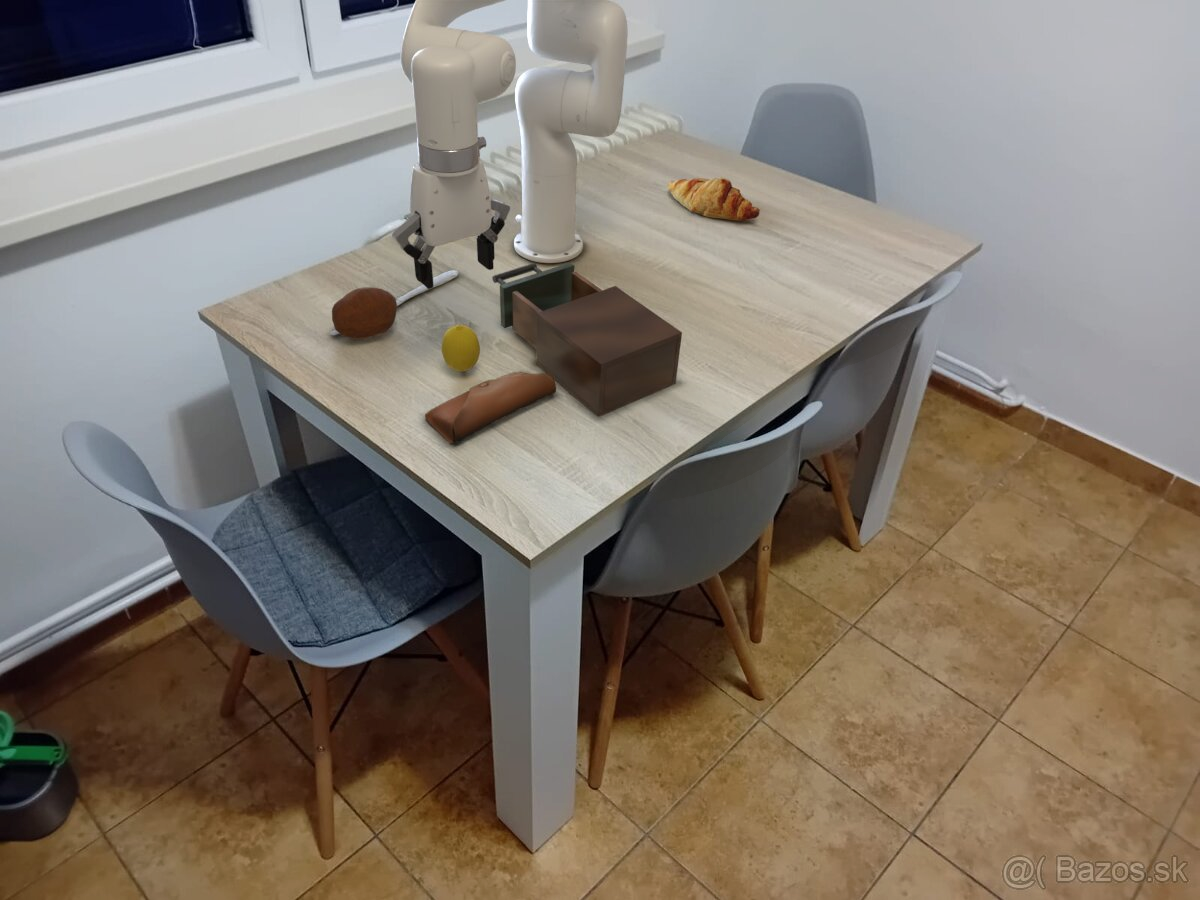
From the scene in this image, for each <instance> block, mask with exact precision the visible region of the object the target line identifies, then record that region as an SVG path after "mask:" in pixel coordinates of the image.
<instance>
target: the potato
mask: <svg viewBox="0 0 1200 900" xmlns="http://www.w3.org/2000/svg"><path fill="white" fill-rule="evenodd" d="M396 299H397V298H396V297H395V296H394V295H393V294H392V293H391V292H389V291H388V290H385V289H383V288H379V287H373V286H372V287H371V286H370V287H369V286H368V287H367V286H365V287H359V288H355V289H353V290H351V291H350V292H348V293H346V294H345V295H343V297H342V298H340V299H339V300H337V301H336V302H335V303H334V304H333V306H332V308H331V320H332V323H333V324H332V325H333V327H334V330H336V331H337V332H338V333H340V334H339V335H341V336H342V337H345V338H349V339H367V338H371V337H375V336H378V335H380V334H383V333H386V332H388V331H389V330H390V329H391V328H392V327H393V325H394V323H395V320H396V316H397V309H398V306H397V302H396Z"/></svg>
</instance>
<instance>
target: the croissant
mask: <svg viewBox="0 0 1200 900" xmlns="http://www.w3.org/2000/svg"><path fill="white" fill-rule="evenodd" d="M667 191H669V193H670V194H671V195H672V196H673V198H674V199H675V200H676V201H677V202H678V203H680V204H681V205H682V206H683V207H685V208H686V209H687V210H689V211H690V213H695V214H699V215H701V216H703V217H708V218H712V219H714V218H715V219H725V220H729V221H742V222H744V221H749V220H751V219H756V218H758V217H759V215H760V212H761V209H760V208H759V207H757V206H753V203H752V202H751V200H749V199H747V198H745V197H744V195H742V193H741V190H740V189H738V188H736V187H733V185H732V182H731V180H730V179H727V178H726V177H714V178H711V179H709V178H702V177H697V178H692V179H686V178H682V179H681V178H680V179H677V180H676V181H675V180H670V181H669V183H667Z"/></svg>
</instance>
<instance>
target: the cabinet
mask: <svg viewBox="0 0 1200 900" xmlns="http://www.w3.org/2000/svg"><path fill="white" fill-rule="evenodd" d="M601 290H602V291H599V292H596V293H593V294H591V295H588V296H585V297H582V298H579V299H576V300H573V301H571V302H568V303H565V304H562V305H559V306H556V307H553V308H550V309H548V310H545V311H542V312H539V313H537V349H536V365H537V366H538V367H539V368H540V369H541V370H543V371H544V373H545V374H548V375H550V376H551V377H552V378H553V379H554V381H555V382H556V383H558V384H559V385H560V386H561V387H562V388H563V389H565V390H566V391H567V392H568V393H569V394H571V395H572V396H573V397H574V398H575V399H576V400H578V401H579V402H580V403H581V404H582V405H583V406H584V407H586V408H587V409H588V410H589V411H591V412H592V413H593V414H594V415H595V416H596V417H597V418H599V417H602V416H604V415H606V414H609V413H610V412H613V411H616V410H618V409H620V408H622V407H625V406H628V405H630V404H632V403H635V402H637V401H640V400H641V399H644V398H646V397H649V396H650V395H653V394H655V393H657V392H659V391H662V390H664V389H667V388H669V387H671V386H674V385H676V384H677V378H678V370H679V369H678V368H679V361H680V353H681V344H682V338H683V337H682V336H683V331H681V330H679V329H678V328H677V327H675V326H674V325H672V324H671V323H670V322H668V321H667V320H665V319H664V318H662V317H661V316H659V315H658V314H657V313H655V312H654V311H652V310H651V309H649V308H648V307H646V305H644V304H642V303H641V302H640V301H638V300H636V299H635V298H634V297H632V296H631V295H629V294H628V293H626V292H625V291H623V290H622V289H621V288H620V287H618V286H617V285H614V286H610V287H607V288H605V289H601Z"/></svg>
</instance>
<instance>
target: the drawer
mask: <svg viewBox="0 0 1200 900" xmlns="http://www.w3.org/2000/svg"><path fill="white" fill-rule="evenodd" d="M531 272H535V273H533V274H530V275H527V276H524V277H521V278H518V279H515V280H511V281H508V282H506V280H509V279H512V278H515V277H519V276H522V275H525V274H528V273H531ZM491 278H492V282H493V283H494V284H496V283H498V284H499V307H500V326H501V327H502V328H503V329H508V328H511V327H512V330H513V331H514V332H515V333H516V334H518V336H520V337H521V338H522V339H523V340H525V342H527V343H528V344H530V345H531V346H532V347H533V348H534V349H535V350H537V313H539V312H542V311H545V310H548V309H550V308H553V307H556V306H559V305H562V304H565V303H568V302H571V301H573V300H576V299H579V298H582V297H585V296H588V295H591V294H593V293H596V292H599V291H602V290H603V289H602V288H600V287H599V286H598V285H596V284H595V283H593V282H592V281H590V280H589V279H587V278H586V277H585V276H583V275H582V274H580V273H579V272H578V271H577V270H576V271H575V265H574V264H573V263H572V262H566V263H564V264H561V265H558V266H554V267H551V268H548V269H546V270H545V269H544V270H541V268H539V267H538V265H537V262H531V263H529V264H526V265H522V266H519V267H517V268H513V269H510V270H508V271H503V272H501V273H497V274H495V275H493V276H492V277H491Z"/></svg>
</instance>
